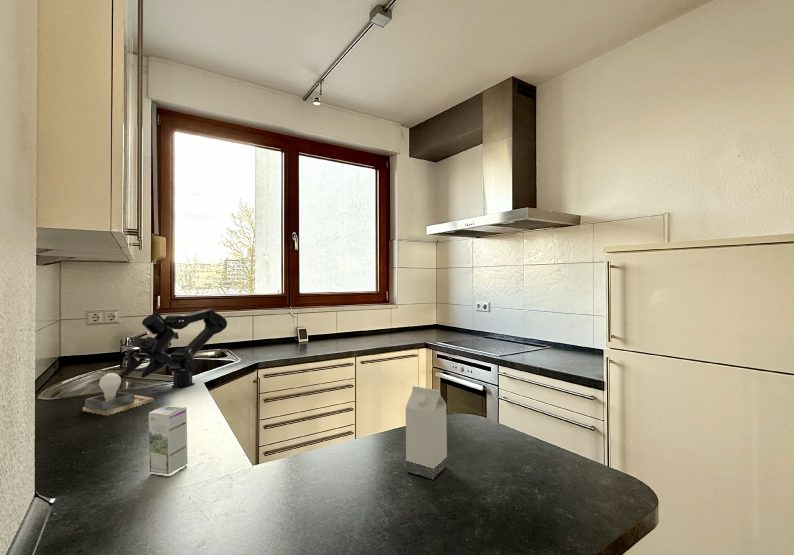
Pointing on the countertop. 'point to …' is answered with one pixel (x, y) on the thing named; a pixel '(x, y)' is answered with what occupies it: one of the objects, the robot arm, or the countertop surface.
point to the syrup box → (168, 439)
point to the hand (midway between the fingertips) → (133, 376)
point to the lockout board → (114, 403)
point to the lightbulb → (110, 385)
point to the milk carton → (426, 427)
